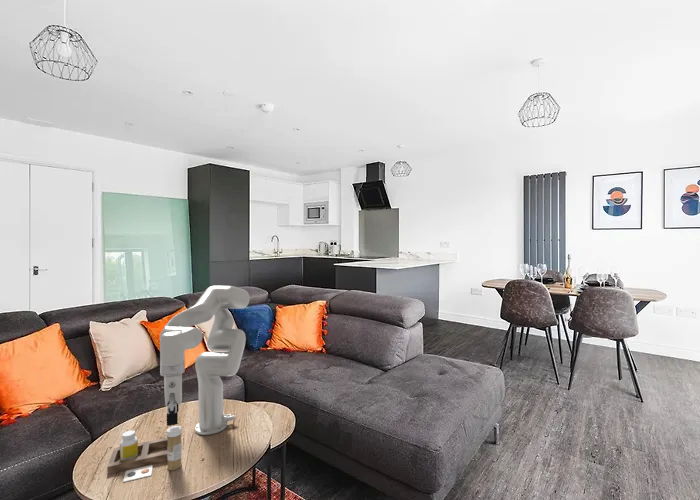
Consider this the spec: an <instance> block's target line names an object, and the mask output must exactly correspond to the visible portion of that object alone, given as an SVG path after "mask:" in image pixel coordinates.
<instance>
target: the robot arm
mask: <svg viewBox="0 0 700 500" xmlns="http://www.w3.org/2000/svg"><path fill="white" fill-rule="evenodd" d="M250 299H251V298H250V294H249V292H248V291H247V290H246V289H243V288H241V287H237V286H234V285H212V286H211V285H210V286H208V287H207V288H206V289H205V290H204V292H202V294H201V295H200V297H199V299H198V300H197V301H196V302H195V304H194V305H193V306H191V307H188V308H186V309H185V310H183V311H181V312H179V313H177V314H176V315H174V316H172V317H171V318H170V319H169V321H168V322H167V323H166V324H165V325H164V327H163V329H162V330H161V332H160V334H159V335H160V336H159V348H160V349H159V359H160V360H159V363H160V364H159V365H160V367H159V370H160V371H159V373H160V374H159V375H160V376H161V377H163V378H164V379H163V383H164V385H163V387H164V388H163V390H164V404H165V406H166V407H167V413H166V426H167V427H172V426H177V424H178V422H179V420H178V413H179V409H180V408H179V405H181V404H182V402H183V381H182V380H183V379H182V378H183V377H182V374H183V373H185V371H186V369H185V368H186V367H185V366H186V365H185V362H186V361H185V359H186V358H185V351H187V350H192V349H195V348H196V347H198V346H199V345H200V344H201V342H202V341H203V338H204V337H203V332H202V330H201V329H200V328H198V327H193V326H197V325H201V324H205V323H206V322H210V320H212V318H213V317H214V319H213V320H214V321H213V323H212V326H211V329H210V332H209V334H208V338H207V342H206V344H207V346H206V347H207V348H208V349H209V350H210V351H205V352H201V353H200V354H198V356H197V357H196V359H195V362H194V363H195V371H196V372H195V373H196V375H197V376H196V377H197V384H198V386H197V387H198V423H197V424H196V425H195V427H194V430H195V433H196V434H198V435H201V436H202V435H203V436H210V435H211V436H212V435H215V434H218V433H220V432H222V431H224V430H225V429H226V428H227V427H228V422H229V421H230V422H231V421H235V420H236V415H235V414H234V415H233V414H232V413H228V414H225V412H224V384H223V380H222V378H221V377H233V376H235V375H236V374H237V373H238V371H239V368H240V366H241V362H242V358H243V356H244V351H245V346H246V341H247V338H246V333H245V332H244V331H243V330H242V329H239V328H234V323H235V320H234V317H233V315H232V314H231V312H230V311H229V309H238V310H239V309H240V310H241V309H246V308H247V307H248V305H249V304H250Z"/></svg>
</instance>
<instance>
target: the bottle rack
mask: <svg viewBox="0 0 700 500" xmlns="http://www.w3.org/2000/svg"><path fill="white" fill-rule="evenodd" d="M167 446H168V439H167V437H164V438H159V439H153V440H148V441H143V442H139V443H138V454H139V453H141V454H140V456H138V457H137V458H132V459H128V460H123V461H120V460H119V461H118V458H120V446H118V447H114V448H113V450H112V452H111V455H110V459H109V461H108V464H107V466H106V472H107V473H106V474H107V475H111V474H114V473H118V472H119V473H120V472H124V471H128V470H132V469H136V468H141V467H145V466H150V465H155V464H159V463H164V462H168V458H167V455H168V451H167V450H165V451H161V452H156V453H152V454H150V451H151V450H152V451H153V450H157V449H162V448H167Z"/></svg>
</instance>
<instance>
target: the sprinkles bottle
mask: <svg viewBox="0 0 700 500" xmlns="http://www.w3.org/2000/svg"><path fill="white" fill-rule="evenodd" d="M166 438H167V439H168V446H167V447H166V448H167V449H166V451H168V455H167V458H168V461H167V470H168V471H175V470H178V469H180V468H182V427H181V426H180V425H171V426H169V428H167V429H166Z"/></svg>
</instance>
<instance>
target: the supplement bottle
mask: <svg viewBox="0 0 700 500" xmlns="http://www.w3.org/2000/svg"><path fill="white" fill-rule="evenodd" d="M138 442H139V441H138V437H137V436H136V431H135V430H131V429H130V430H128V431H127V430H126V431H125V432H123V433H122V435H121V441H120V442H119V447H120V457H119V461H123V460H128V459H132V458H137V457H139V453H138Z"/></svg>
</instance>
